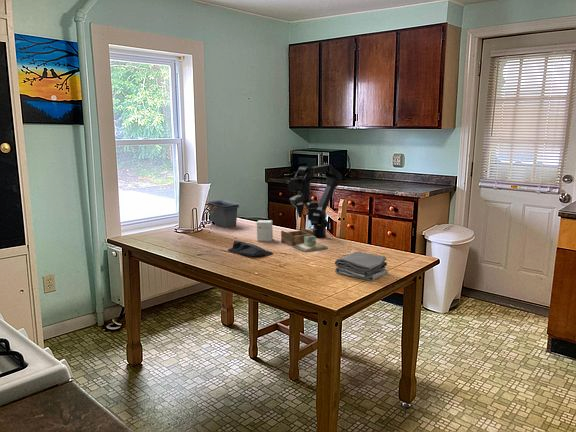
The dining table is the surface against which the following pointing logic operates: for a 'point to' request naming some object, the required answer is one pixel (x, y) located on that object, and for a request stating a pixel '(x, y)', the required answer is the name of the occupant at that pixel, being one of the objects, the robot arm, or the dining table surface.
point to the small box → (264, 230)
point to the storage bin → (223, 212)
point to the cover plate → (309, 243)
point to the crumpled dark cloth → (248, 249)
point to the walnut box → (295, 236)
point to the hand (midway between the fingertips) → (304, 218)
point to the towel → (361, 266)
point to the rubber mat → (309, 250)
